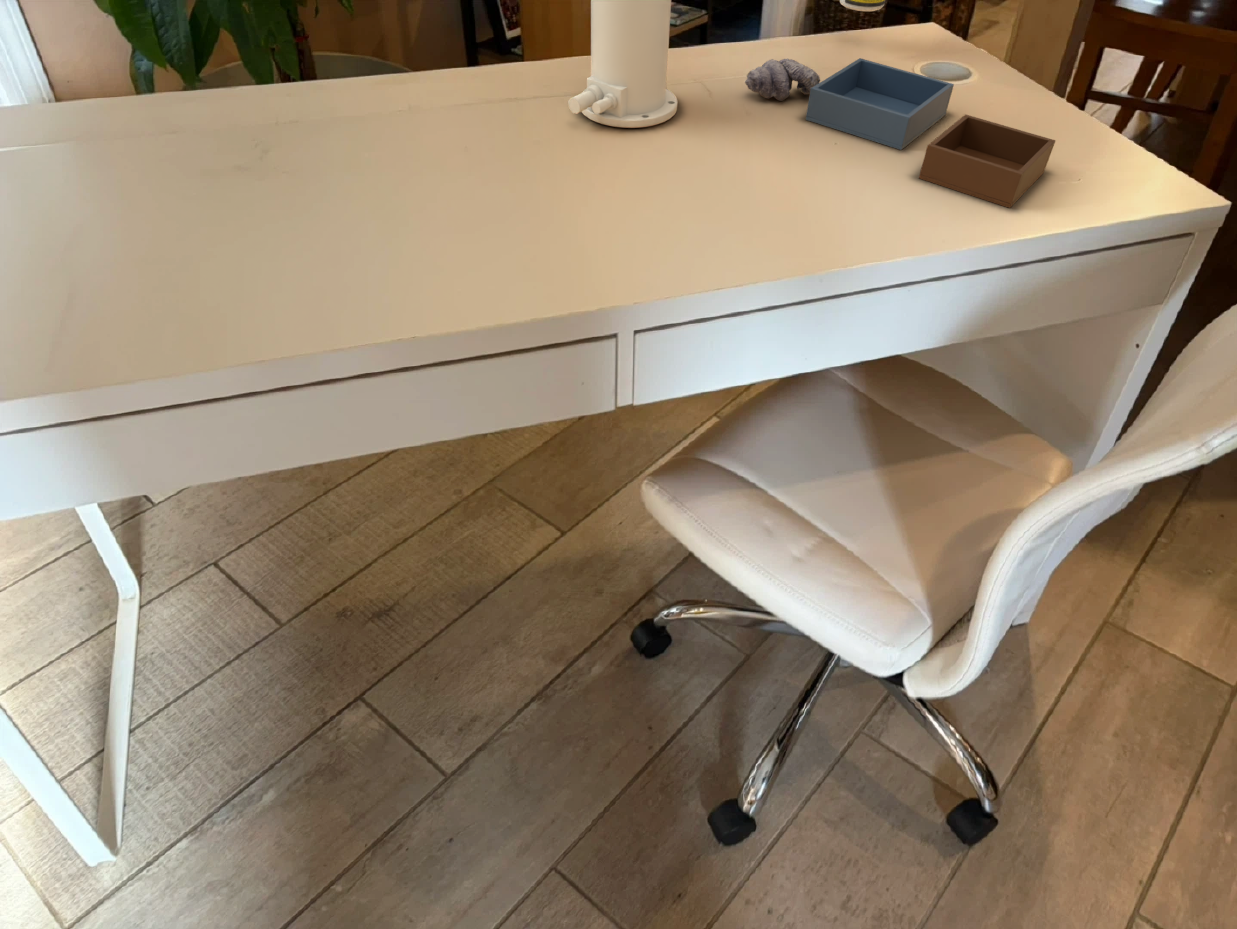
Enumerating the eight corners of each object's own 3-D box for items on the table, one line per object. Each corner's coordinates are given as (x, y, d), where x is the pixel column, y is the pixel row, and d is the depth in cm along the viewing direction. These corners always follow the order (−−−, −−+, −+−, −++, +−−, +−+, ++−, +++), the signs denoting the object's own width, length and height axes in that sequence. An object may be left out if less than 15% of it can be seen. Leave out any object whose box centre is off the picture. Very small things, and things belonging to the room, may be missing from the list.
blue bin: (901, 150, 109) (909, 117, 106) (805, 119, 115) (810, 87, 112) (945, 115, 117) (954, 83, 114) (853, 88, 122) (859, 57, 119)
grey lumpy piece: (812, 101, 122) (741, 109, 120) (807, 60, 121) (736, 67, 119) (828, 89, 116) (755, 97, 115) (823, 46, 116) (749, 54, 114)
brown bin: (1009, 208, 99) (1022, 174, 96) (918, 178, 104) (927, 144, 101) (1043, 173, 105) (1055, 140, 103) (955, 146, 110) (965, 113, 107)
